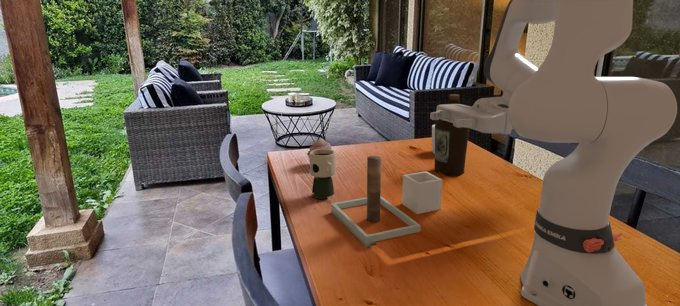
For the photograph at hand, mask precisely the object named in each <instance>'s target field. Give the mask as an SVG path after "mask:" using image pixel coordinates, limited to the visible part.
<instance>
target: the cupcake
mask: <svg viewBox="0 0 680 306" xmlns="http://www.w3.org/2000/svg"><path fill="white" fill-rule="evenodd" d="M311 144H312V145H311V146H310V147H309V150H308V151H307V153H306V155H307V156H308V158H310V156H309V153H310V151H312V150H316V149H330V150H332V145H331V144H330V142H328V141H326V140H325V139H323V138H322V137H318V139H317V140H315V141H314V142H313V143H311Z"/></svg>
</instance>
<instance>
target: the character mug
mask: <svg viewBox="0 0 680 306" xmlns="http://www.w3.org/2000/svg"><path fill="white" fill-rule="evenodd" d="M309 151H310V150H309ZM309 156H310V158H309ZM309 156H308V158H309V174H310V175H311V176H312V177H313V180H312V181H313V182H312V190H311V195H313V198H315V199H323V200H324V199H327V198H330V197H333V195H335V192H334V191H335V190H334V189H335V188H334V183H333V178H332V176H335V174H336V151H335V150H332V149H331V150H330V149H316V150H312V151H310V153H309Z"/></svg>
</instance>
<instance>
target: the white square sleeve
mask: <svg viewBox="0 0 680 306" xmlns="http://www.w3.org/2000/svg"><path fill="white" fill-rule="evenodd" d="M401 191H402V193H401V194H402V195H401V196H402V197H401V204H402V205H403V206H405V208H408V209H409V210H411V211H412V212H413V213H414V214H416V215H420V214H423V213H424V214H425V213H428V212H434V211H440V210H442V198H443V197H442V194H443V179H442V178H440V177H438V176H436V175H434V174H432V173H430V172H428V171H427V170H426V171H425V170H424V171H420V172H414V173H408V174H407V173H406V174H403V175H402V190H401Z"/></svg>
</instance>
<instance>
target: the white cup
mask: <svg viewBox="0 0 680 306" xmlns="http://www.w3.org/2000/svg"><path fill="white" fill-rule="evenodd" d="M431 143H432V144H431V149H432V151H431V152H432V154H433V155H435V124H432V126H431Z"/></svg>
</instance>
